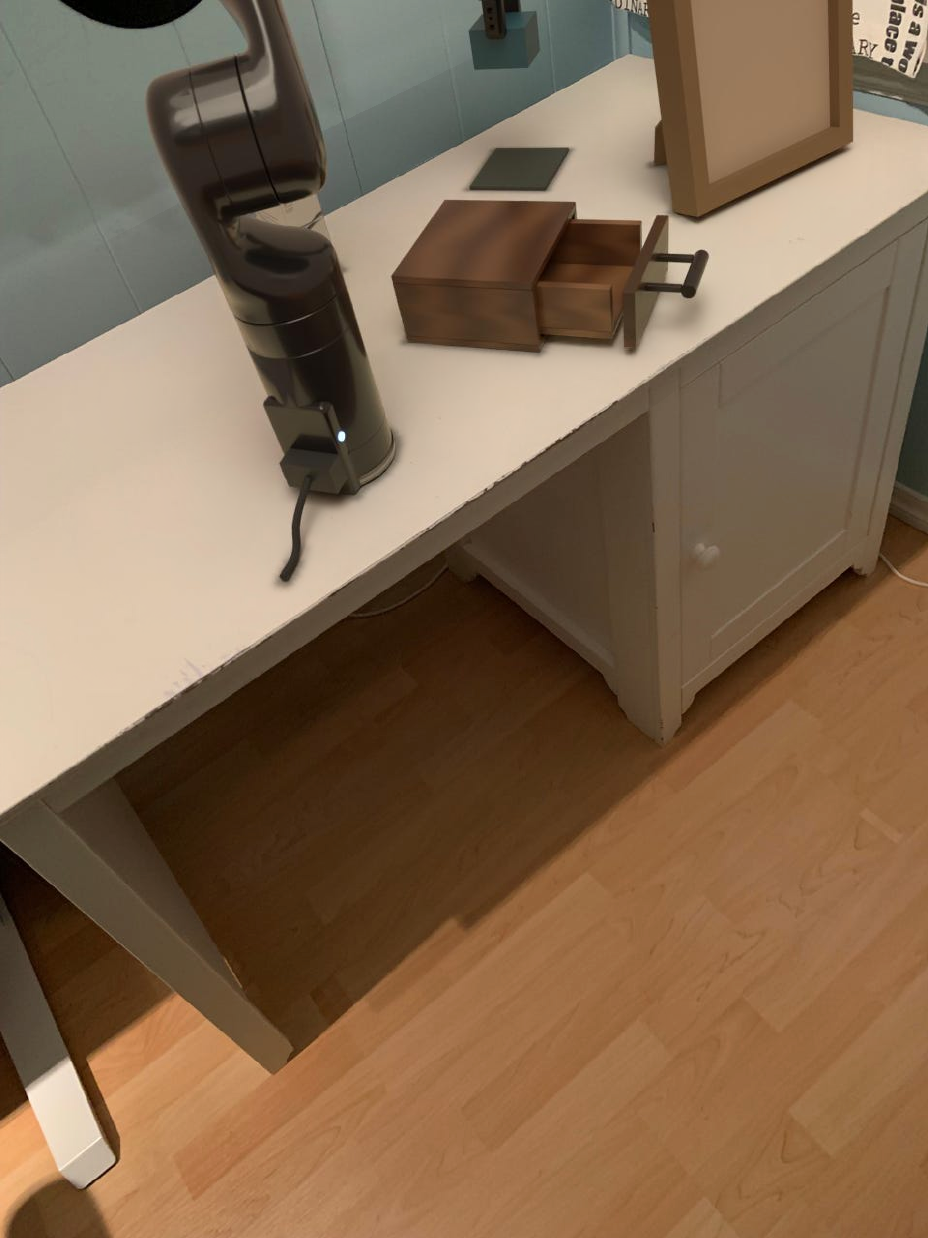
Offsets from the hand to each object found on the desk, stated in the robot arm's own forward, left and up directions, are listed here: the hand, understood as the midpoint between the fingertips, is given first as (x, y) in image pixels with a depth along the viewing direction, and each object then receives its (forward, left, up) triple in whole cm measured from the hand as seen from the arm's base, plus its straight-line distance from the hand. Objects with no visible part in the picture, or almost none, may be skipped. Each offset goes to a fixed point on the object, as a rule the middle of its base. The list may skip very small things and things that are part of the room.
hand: (504, 27), depth 97 cm
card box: (0, 0, -3) cm, 3 cm away
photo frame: (+2, -25, -17) cm, 30 cm away
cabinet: (-28, -6, -16) cm, 33 cm away
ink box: (-23, +20, -17) cm, 34 cm away
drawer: (-28, -19, -16) cm, 37 cm away
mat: (+1, +1, -16) cm, 16 cm away
